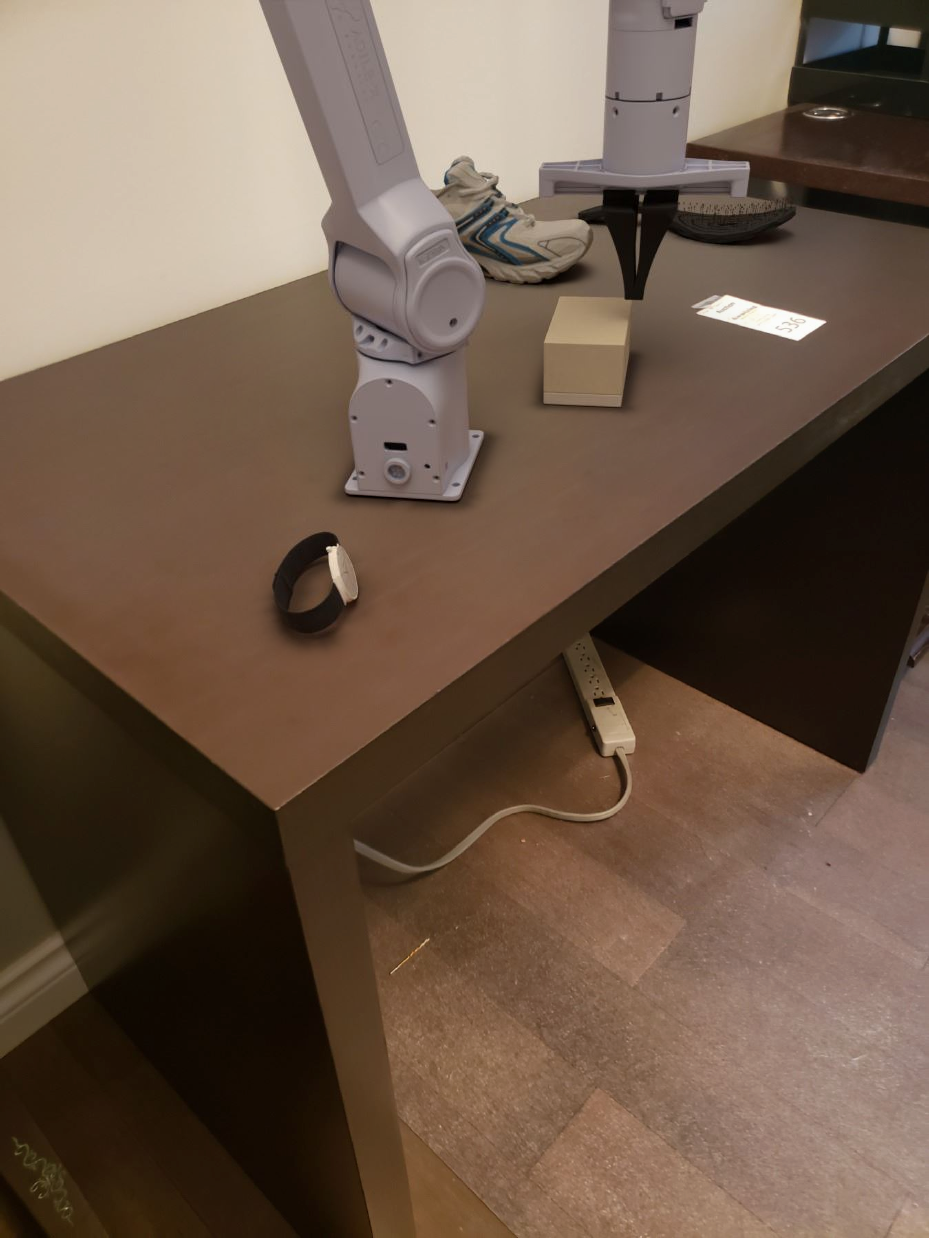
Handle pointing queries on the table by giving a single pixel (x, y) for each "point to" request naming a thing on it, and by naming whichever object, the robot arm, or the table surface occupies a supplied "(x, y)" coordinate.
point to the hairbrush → (719, 222)
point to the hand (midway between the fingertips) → (634, 295)
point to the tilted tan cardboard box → (587, 351)
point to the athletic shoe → (508, 229)
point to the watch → (341, 576)
